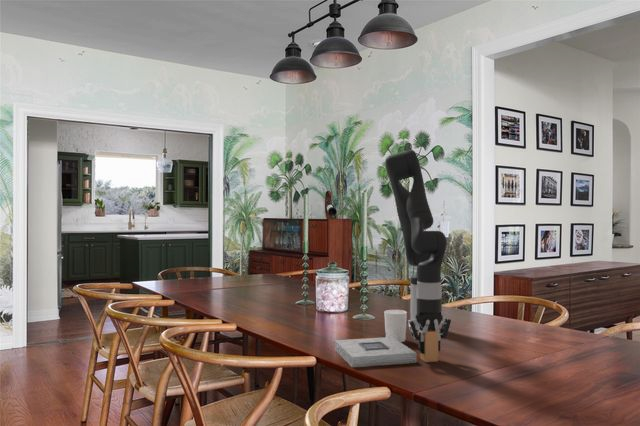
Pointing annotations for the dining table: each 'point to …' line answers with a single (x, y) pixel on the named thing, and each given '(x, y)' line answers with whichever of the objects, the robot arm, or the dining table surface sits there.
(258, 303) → the dining table surface
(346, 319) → the dining table surface
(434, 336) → the tan wooden block
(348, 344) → the slab with square hole
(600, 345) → the dining table surface
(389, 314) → the white cup
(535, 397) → the dining table surface
